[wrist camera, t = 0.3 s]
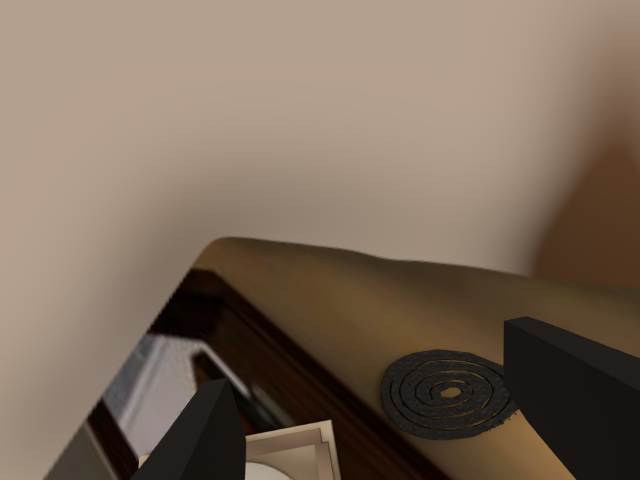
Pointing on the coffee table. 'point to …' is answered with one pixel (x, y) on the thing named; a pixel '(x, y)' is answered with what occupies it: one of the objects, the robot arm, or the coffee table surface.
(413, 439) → the coffee table surface
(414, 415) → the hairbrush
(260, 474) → the dial
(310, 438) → the dial housing
